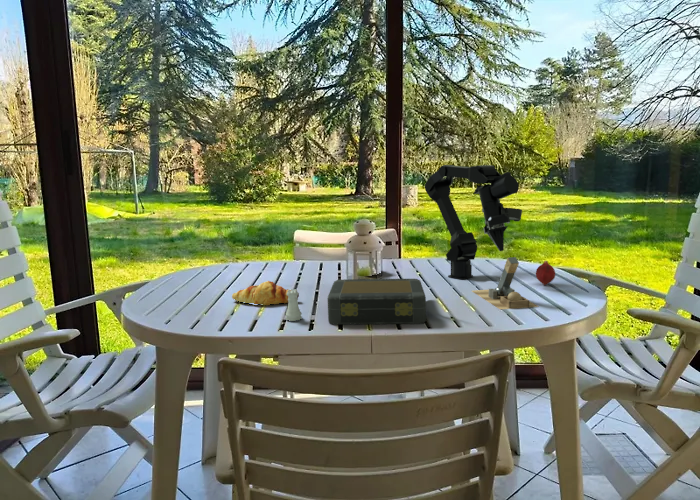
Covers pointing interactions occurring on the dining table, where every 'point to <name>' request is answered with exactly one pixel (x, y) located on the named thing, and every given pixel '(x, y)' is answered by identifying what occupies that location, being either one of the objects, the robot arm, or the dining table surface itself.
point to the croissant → (263, 294)
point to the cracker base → (503, 300)
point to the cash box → (377, 301)
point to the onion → (545, 273)
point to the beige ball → (514, 296)
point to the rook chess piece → (293, 306)
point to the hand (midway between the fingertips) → (501, 250)
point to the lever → (507, 277)
